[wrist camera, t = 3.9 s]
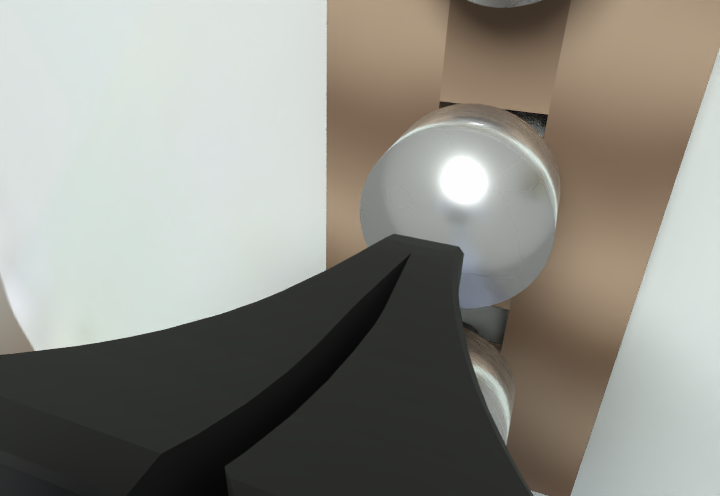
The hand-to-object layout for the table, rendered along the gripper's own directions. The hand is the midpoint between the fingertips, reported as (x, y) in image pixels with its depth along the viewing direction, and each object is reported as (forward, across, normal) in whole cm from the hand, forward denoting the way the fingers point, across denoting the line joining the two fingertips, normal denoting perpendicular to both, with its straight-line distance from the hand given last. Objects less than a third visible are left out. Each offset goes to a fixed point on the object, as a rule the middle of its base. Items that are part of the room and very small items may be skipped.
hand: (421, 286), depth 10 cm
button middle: (+7, 0, 0) cm, 7 cm away
